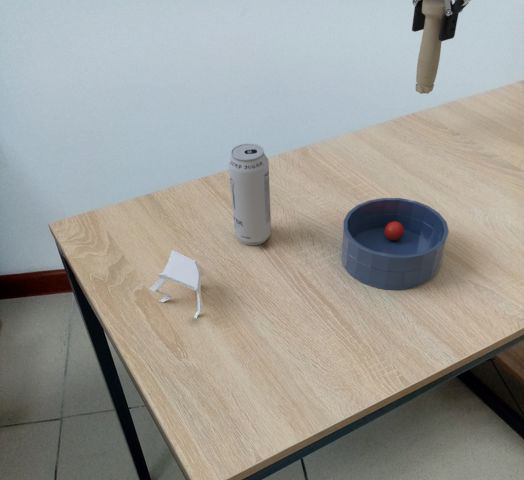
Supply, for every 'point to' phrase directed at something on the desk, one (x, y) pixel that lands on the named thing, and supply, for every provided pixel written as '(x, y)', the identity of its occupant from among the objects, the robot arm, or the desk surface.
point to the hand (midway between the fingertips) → (432, 33)
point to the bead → (394, 231)
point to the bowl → (393, 243)
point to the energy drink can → (250, 193)
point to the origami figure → (181, 276)
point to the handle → (429, 45)
